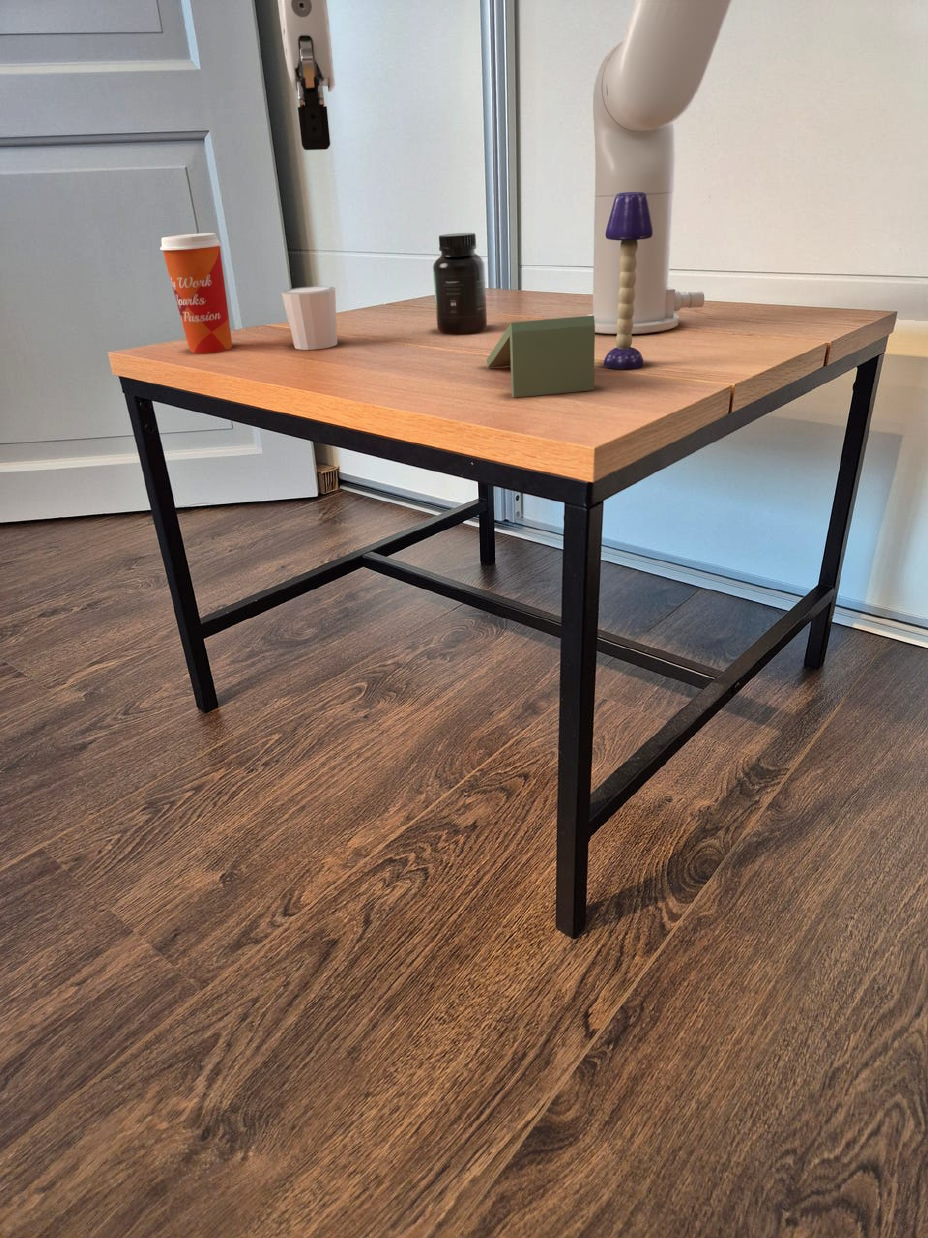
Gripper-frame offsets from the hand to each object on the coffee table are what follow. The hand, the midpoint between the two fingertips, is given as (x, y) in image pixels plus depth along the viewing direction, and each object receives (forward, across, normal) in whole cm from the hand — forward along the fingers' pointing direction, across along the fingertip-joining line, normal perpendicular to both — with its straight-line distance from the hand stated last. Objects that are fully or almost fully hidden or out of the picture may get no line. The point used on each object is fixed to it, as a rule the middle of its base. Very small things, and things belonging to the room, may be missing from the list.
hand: (316, 148), depth 99 cm
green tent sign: (+22, -29, -20) cm, 42 cm away
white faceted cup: (+23, +1, +3) cm, 23 cm away
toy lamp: (+22, -27, -30) cm, 46 cm away
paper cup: (+23, +5, +17) cm, 29 cm away
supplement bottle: (+22, +3, -17) cm, 28 cm away
